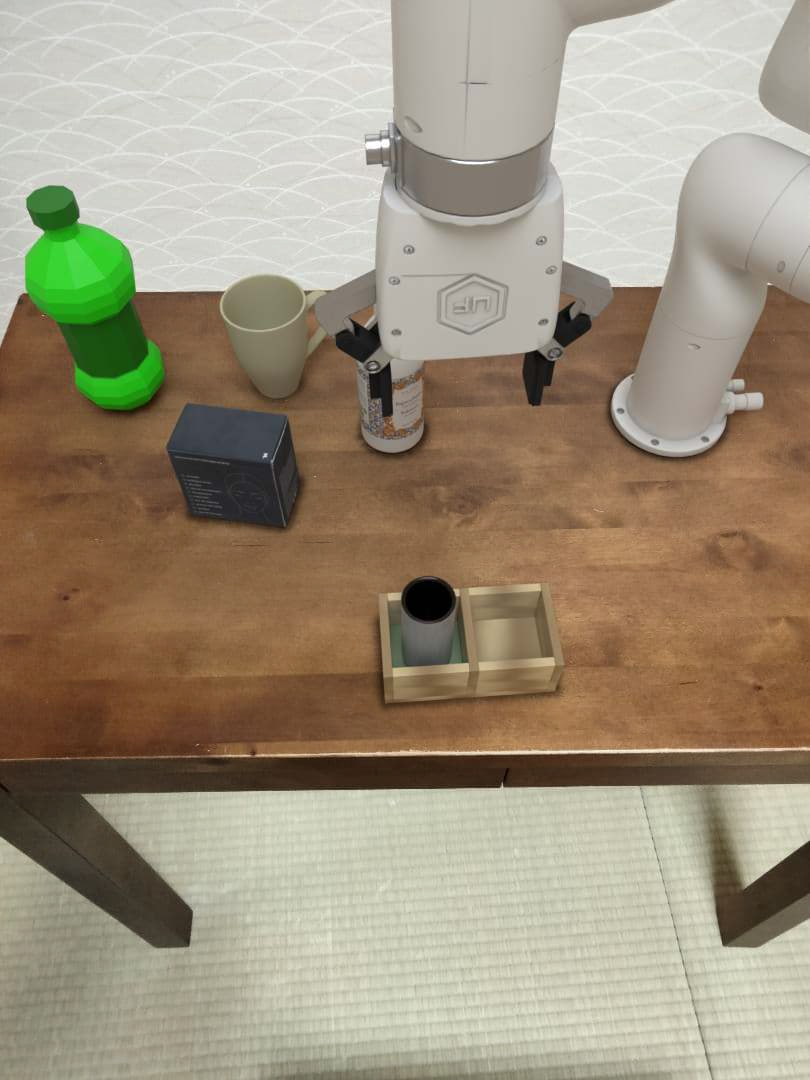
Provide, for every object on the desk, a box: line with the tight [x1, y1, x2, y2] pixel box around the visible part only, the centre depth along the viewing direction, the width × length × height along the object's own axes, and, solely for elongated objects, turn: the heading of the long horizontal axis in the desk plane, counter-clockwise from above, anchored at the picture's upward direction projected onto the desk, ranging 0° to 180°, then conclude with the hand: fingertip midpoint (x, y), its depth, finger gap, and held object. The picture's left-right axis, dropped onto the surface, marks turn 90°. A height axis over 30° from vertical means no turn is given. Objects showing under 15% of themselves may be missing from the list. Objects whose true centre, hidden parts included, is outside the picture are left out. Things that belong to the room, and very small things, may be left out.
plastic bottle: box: [24, 184, 165, 411], centre depth 84 cm, size 10×10×25 cm
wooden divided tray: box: [377, 582, 565, 704], centre depth 73 cm, size 15×8×6 cm, turn 94°
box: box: [165, 402, 301, 528], centre depth 82 cm, size 11×7×10 cm, turn 80°
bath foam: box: [355, 303, 426, 454], centre depth 83 cm, size 7×7×20 cm
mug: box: [219, 273, 328, 400], centre depth 90 cm, size 11×10×12 cm
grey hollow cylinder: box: [401, 575, 456, 667], centre depth 70 cm, size 4×4×10 cm
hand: (458, 395), depth 54 cm, fingers open, 9 cm apart
